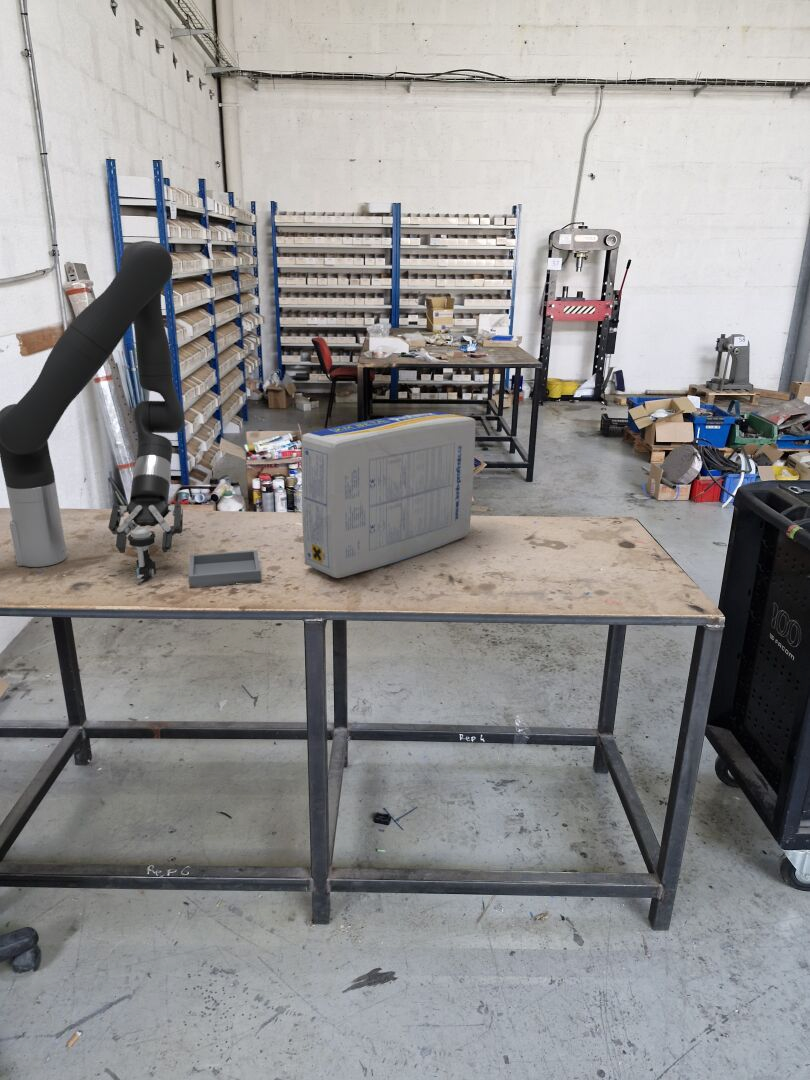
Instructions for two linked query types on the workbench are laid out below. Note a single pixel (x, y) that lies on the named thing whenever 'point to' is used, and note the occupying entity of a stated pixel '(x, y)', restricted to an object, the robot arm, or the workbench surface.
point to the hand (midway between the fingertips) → (143, 551)
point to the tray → (224, 568)
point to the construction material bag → (385, 490)
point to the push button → (143, 552)
